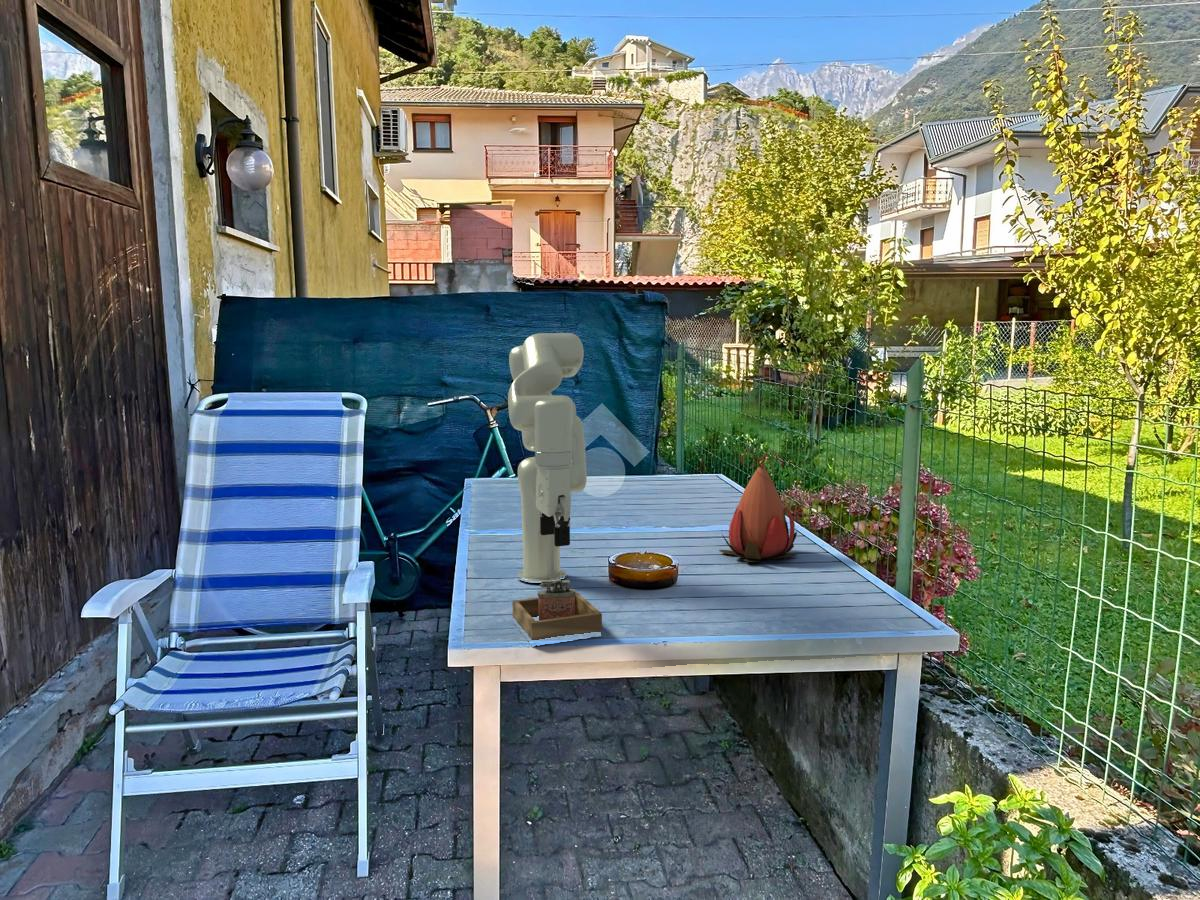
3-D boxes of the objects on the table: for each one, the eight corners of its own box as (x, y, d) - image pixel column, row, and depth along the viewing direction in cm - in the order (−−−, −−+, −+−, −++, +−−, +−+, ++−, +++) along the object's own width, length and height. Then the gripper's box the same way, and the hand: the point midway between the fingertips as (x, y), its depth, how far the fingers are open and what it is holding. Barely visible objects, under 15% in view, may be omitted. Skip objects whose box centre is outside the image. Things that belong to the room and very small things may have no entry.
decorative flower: (798, 548, 233) (801, 447, 229) (795, 571, 211) (798, 458, 207) (723, 544, 239) (724, 445, 234) (712, 565, 217) (713, 456, 212)
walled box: (512, 622, 174) (512, 600, 173) (577, 614, 179) (577, 592, 178) (532, 647, 160) (531, 623, 159) (602, 636, 165) (601, 613, 164)
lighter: (575, 621, 171) (574, 576, 170) (576, 627, 168) (576, 581, 167) (537, 623, 170) (536, 578, 169) (538, 629, 167) (537, 583, 166)
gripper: (524, 454, 171) (526, 532, 174) (548, 466, 155) (550, 552, 158) (557, 452, 174) (559, 528, 176) (585, 464, 158) (585, 548, 160)
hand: (554, 539), depth 167 cm, fingers open, 9 cm apart
